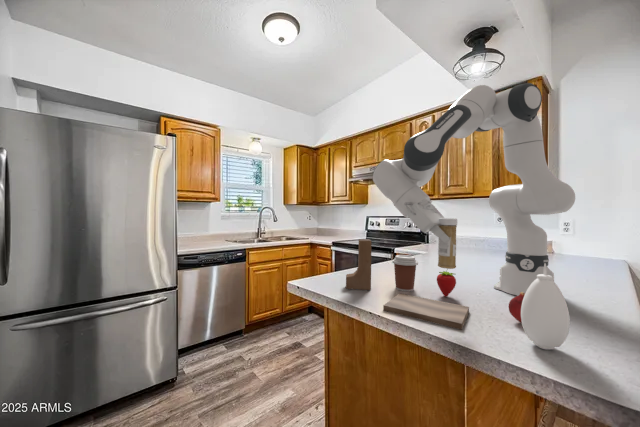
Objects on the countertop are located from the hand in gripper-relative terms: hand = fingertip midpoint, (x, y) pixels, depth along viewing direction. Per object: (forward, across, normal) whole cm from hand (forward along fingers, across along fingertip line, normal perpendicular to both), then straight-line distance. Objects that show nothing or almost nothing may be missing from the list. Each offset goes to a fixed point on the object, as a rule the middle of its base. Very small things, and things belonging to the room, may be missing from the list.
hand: (449, 240), depth 70 cm
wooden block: (-7, +9, +38) cm, 39 cm away
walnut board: (+11, +1, +19) cm, 22 cm away
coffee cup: (+2, +19, +27) cm, 33 cm away
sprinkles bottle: (+5, 0, +6) cm, 8 cm away
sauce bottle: (+29, -5, +1) cm, 29 cm away
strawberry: (+12, +19, +17) cm, 28 cm away
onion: (+26, +8, +3) cm, 28 cm away
